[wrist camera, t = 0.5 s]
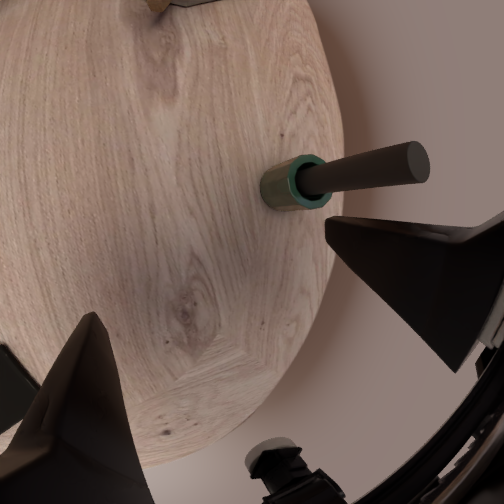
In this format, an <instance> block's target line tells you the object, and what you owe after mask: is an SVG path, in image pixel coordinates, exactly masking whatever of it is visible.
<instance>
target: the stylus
mask: <svg viewBox="0 0 504 504" xmlns="http://www.w3.org/2000/svg"><path fill="white" fill-rule="evenodd" d="M429 174H430V162H429V158H428V155H427V153H426V150H425V149H424V147H423V146H422V145H421V144H420V143H419V142H417V141H411V142H406V143H402V144H398V145H393V146H389V147H385V148H380V149H377V150H372V151H368V152H364V153H361V154H357V155H353V156H349V157H345V158H342V159H338V160H334V161H331V162H327V163H324V164H320V165H317V166H313V167H310V168H307V169H303V170H300V171H297V172H296V175H295V184H296V189H297V190H298V192H299V193H300V194H301V196H302V197H303V196H310V195H317V194H325V193H332V192H340V191H348V190H356V189H365V188H374V187H383V186H393V185H403V184H404V185H405V184H415V183H424V182H426V181H427V179H428V177H429Z"/></svg>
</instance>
